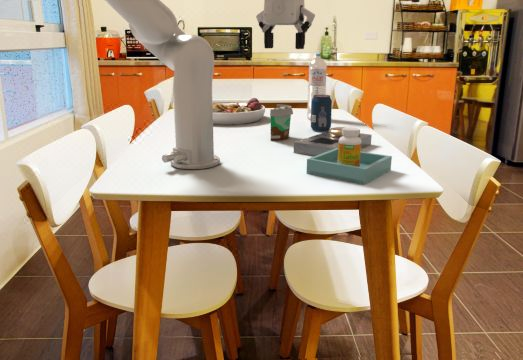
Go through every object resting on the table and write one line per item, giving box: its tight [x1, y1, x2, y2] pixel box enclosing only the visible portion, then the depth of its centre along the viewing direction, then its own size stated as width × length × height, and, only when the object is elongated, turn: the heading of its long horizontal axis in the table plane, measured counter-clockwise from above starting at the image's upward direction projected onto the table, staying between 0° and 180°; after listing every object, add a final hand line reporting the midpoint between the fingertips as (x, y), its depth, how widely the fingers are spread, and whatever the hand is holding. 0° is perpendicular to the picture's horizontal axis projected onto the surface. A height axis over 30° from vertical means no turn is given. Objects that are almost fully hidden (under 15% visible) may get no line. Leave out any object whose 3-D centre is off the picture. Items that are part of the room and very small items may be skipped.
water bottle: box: [306, 52, 328, 121], centre depth 186 cm, size 7×7×25 cm
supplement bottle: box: [337, 126, 362, 167], centre depth 115 cm, size 5×5×10 cm
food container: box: [269, 103, 294, 142], centre depth 153 cm, size 12×6×10 cm, turn 168°
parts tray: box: [306, 148, 393, 185], centre depth 116 cm, size 15×15×4 cm
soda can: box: [310, 94, 333, 133], centre depth 166 cm, size 7×7×12 cm
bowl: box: [212, 97, 266, 126], centre depth 188 cm, size 30×30×8 cm
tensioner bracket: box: [293, 126, 373, 157], centre depth 140 cm, size 23×13×4 cm, turn 143°
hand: (284, 48), depth 126 cm, fingers open, 9 cm apart
